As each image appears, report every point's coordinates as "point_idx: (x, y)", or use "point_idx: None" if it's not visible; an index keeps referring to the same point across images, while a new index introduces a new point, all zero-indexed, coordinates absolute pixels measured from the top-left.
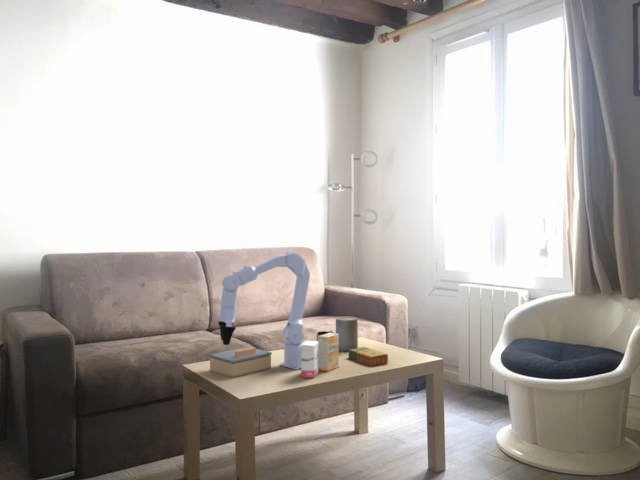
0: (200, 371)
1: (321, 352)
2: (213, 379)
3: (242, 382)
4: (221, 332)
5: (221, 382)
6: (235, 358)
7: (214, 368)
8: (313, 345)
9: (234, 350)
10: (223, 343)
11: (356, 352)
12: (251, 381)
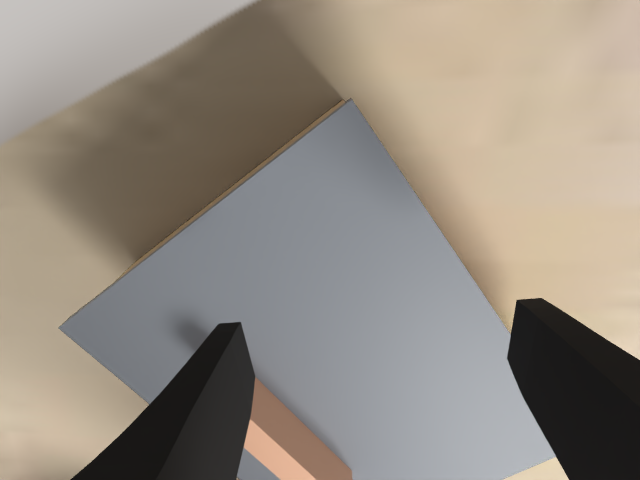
0: (332, 11)
1: None
2: (90, 133)
3: (39, 310)
4: (603, 392)
5: (21, 190)
6: (154, 348)
7: (292, 140)
8: None
9: (471, 348)
10: (209, 334)
11: None
12: (65, 353)
